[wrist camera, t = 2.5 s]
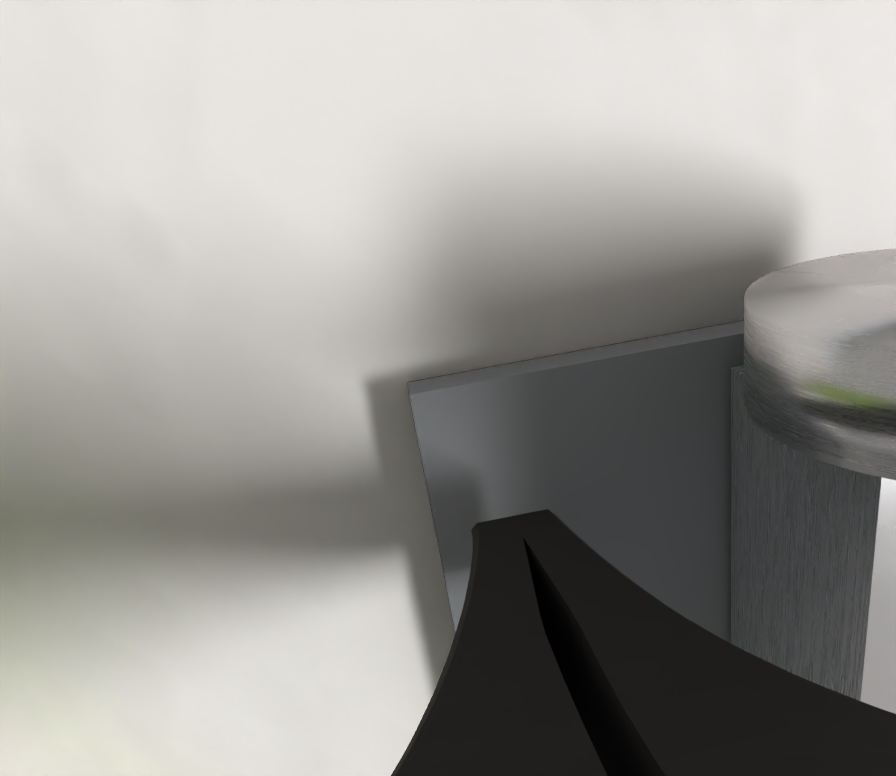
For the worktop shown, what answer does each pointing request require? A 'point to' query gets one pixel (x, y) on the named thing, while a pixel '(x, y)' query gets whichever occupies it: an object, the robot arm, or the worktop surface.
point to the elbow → (818, 474)
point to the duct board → (595, 460)
